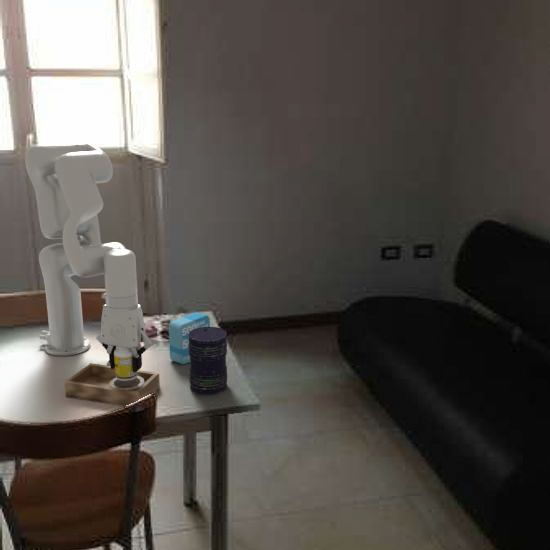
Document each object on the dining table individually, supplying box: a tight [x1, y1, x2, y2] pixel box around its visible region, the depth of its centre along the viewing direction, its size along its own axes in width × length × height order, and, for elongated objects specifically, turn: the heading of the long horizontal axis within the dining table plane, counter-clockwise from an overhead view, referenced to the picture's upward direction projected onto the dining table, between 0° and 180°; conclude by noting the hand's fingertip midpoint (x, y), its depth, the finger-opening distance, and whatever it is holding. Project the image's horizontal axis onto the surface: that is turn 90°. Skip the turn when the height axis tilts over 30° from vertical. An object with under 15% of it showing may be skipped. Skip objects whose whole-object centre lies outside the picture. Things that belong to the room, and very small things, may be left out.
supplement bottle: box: [114, 346, 137, 381], centre depth 165 cm, size 5×5×10 cm
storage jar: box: [188, 326, 228, 397], centre depth 170 cm, size 10×10×15 cm
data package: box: [168, 311, 211, 365], centre depth 188 cm, size 12×4×12 cm, turn 142°
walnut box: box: [64, 362, 161, 407], centre depth 168 cm, size 20×12×4 cm, turn 74°
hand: (126, 367), depth 165 cm, fingers closed on supplement bottle, 5 cm apart
